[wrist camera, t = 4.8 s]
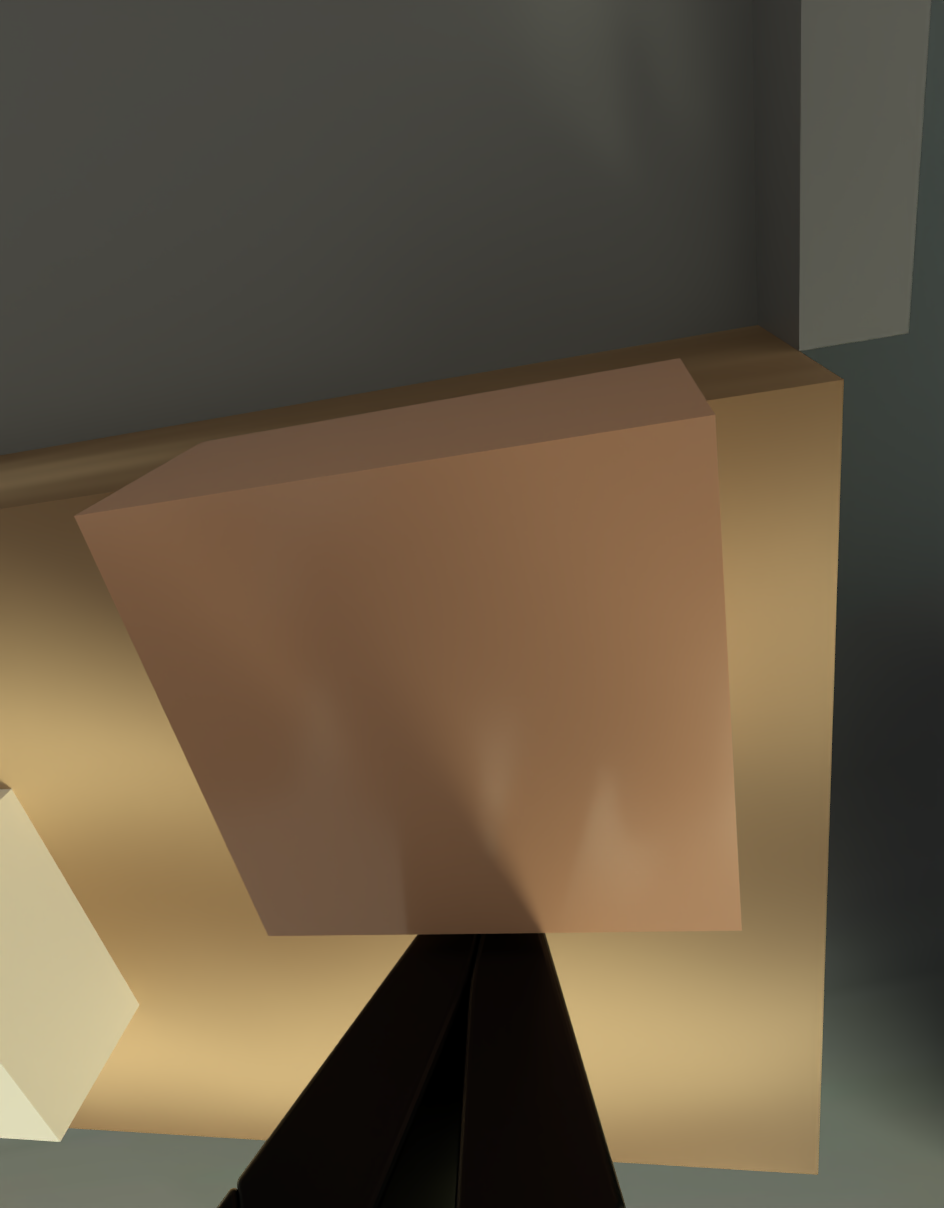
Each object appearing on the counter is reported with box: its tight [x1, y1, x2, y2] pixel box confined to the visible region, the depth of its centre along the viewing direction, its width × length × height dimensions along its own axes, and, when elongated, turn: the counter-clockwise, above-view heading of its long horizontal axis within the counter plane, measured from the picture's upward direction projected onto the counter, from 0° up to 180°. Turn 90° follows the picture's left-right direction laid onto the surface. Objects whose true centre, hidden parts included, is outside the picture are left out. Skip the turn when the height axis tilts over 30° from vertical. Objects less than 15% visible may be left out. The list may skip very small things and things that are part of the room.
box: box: [0, 0, 931, 455], centre depth 8 cm, size 9×18×2 cm, turn 101°
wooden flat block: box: [0, 325, 844, 1175], centre depth 12 cm, size 12×16×4 cm
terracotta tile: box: [74, 358, 742, 936], centre depth 7 cm, size 4×4×2 cm
